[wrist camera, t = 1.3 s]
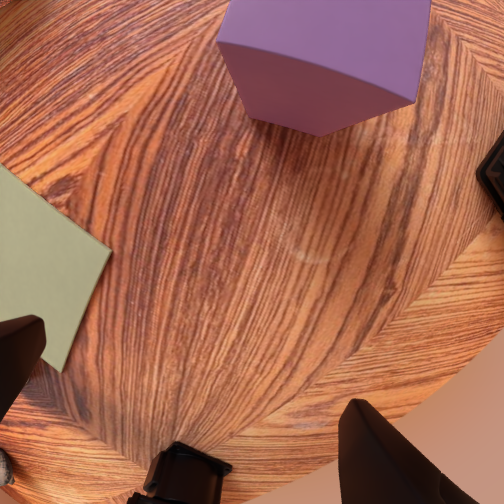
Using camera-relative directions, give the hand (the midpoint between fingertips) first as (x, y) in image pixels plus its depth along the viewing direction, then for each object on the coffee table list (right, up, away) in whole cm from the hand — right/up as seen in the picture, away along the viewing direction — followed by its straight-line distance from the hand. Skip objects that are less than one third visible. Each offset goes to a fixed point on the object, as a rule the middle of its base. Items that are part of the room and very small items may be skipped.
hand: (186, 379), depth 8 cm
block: (+4, +13, +10) cm, 17 cm away
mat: (-18, +2, +14) cm, 23 cm away
